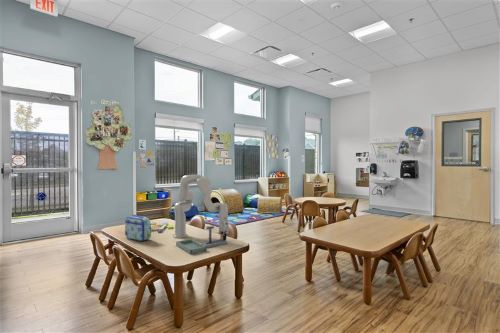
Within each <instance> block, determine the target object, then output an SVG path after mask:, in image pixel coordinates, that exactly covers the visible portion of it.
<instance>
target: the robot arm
mask: <svg viewBox="0 0 500 333" xmlns="http://www.w3.org/2000/svg"><path fill="white" fill-rule="evenodd" d="M211 183H212V182H211V179H210V178H209V177H207V176H204V175H201V174H187V175H186V174H185V175H183V176H182V177H181V179H180V184H179V190H178V194H177V201H179V202H177V203H175V204H174V206H173V211H174V230H175V231H174V234H173V238H174V239H175V238H176V239H182V238H183V239H185V238H186V237H188V234H187V233H186V231H187V229H186V228H187V226H186V224H187V223H186V221H187V220H186V218H187V217H186V214H185V212H188V211H190V210H191V208H192V204H193V200H194V193H193V191H191V190H190V185H195V184H196V185H197V187H198V189H199V190H200V192H201V194H202V196H203V203H204V206H205V208H206V209H207V211H208V212H209V213H212V214H213V213H214V214H215V213H217V212H218V231H219V234H220V236H221V234H223V240H226V241H227V235H228V234H229V232H230V223H229V205H228V204H227V203H221V202H215V203H213V202H212V199H211V195H212V194H213V190H212V189H211V187H210V185H211Z"/></svg>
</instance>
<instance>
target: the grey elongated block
mask: <svg viewBox="0 0 500 333" xmlns="http://www.w3.org/2000/svg"><path fill="white" fill-rule="evenodd" d="M200 244H202V245H204V246H206V249H208V248H211V247H216V246H221V245H224V244H228V241H227V239H226V240H223V234H221V235H220V238H218V239H214V240H212V244H209V241H205V242H201V243H200Z"/></svg>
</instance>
